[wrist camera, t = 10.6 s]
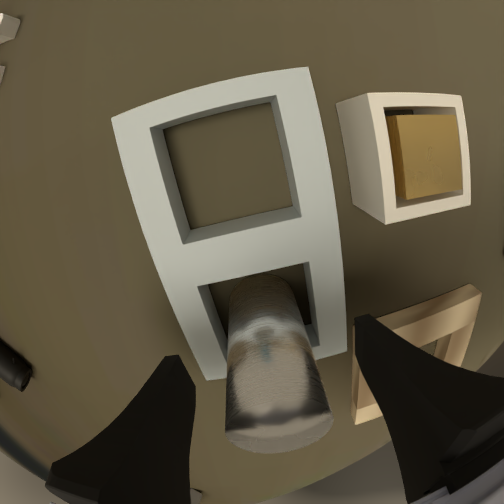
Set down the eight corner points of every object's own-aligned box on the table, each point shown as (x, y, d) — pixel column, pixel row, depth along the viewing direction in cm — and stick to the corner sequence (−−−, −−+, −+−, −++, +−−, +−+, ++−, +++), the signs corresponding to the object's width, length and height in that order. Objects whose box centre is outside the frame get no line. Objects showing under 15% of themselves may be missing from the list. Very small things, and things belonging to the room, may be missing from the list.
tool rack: (297, 77, 11) (307, 66, 9) (337, 329, 16) (347, 351, 14) (128, 120, 11) (111, 118, 9) (208, 357, 16) (206, 380, 14)
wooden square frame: (470, 283, 16) (481, 292, 14) (446, 373, 19) (453, 383, 18) (352, 325, 16) (360, 340, 15) (350, 411, 20) (355, 424, 18)
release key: (416, 115, 11) (455, 114, 8) (424, 177, 12) (461, 189, 9) (362, 119, 11) (396, 115, 8) (373, 186, 12) (406, 199, 9)
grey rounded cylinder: (288, 266, 14) (331, 388, 7) (298, 320, 16) (334, 440, 8) (221, 282, 14) (210, 411, 7) (238, 333, 16) (241, 458, 8)
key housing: (418, 99, 11) (460, 95, 8) (429, 189, 13) (470, 204, 10) (335, 103, 11) (366, 93, 8) (352, 203, 13) (385, 224, 10)
